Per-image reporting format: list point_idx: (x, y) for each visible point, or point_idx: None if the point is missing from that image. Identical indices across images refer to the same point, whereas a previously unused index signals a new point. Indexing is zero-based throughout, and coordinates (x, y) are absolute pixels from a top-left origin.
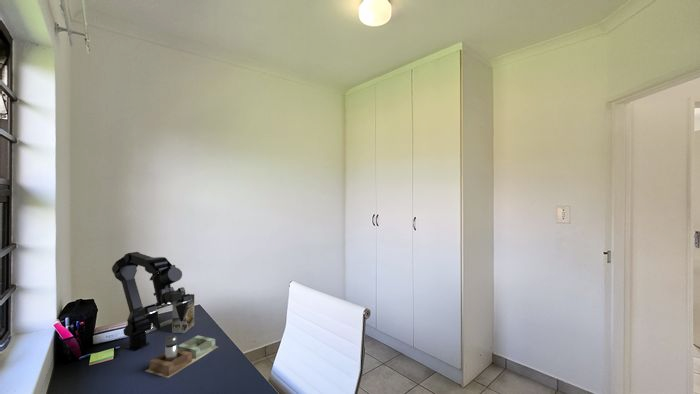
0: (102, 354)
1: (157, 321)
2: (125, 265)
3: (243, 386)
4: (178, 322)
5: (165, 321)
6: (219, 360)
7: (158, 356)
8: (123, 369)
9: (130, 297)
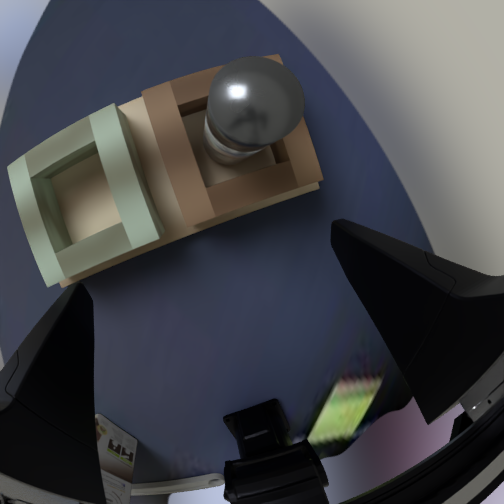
0: (340, 421)
1: (413, 253)
2: None
3: None
4: (111, 457)
5: (148, 494)
6: (71, 64)
7: (279, 188)
8: (349, 287)
9: None
